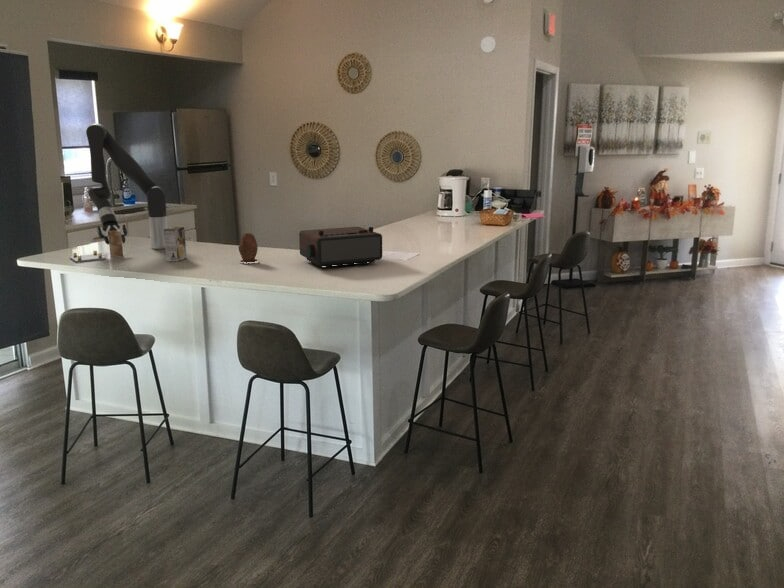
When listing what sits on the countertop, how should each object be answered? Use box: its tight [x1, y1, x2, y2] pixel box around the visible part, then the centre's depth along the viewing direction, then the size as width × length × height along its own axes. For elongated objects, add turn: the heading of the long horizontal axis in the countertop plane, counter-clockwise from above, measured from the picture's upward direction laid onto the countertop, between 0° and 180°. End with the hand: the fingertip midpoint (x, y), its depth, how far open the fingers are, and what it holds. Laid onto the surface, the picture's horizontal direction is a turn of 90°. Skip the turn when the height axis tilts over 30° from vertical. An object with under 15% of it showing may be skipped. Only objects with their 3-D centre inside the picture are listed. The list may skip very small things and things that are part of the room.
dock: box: [69, 250, 107, 264], centre depth 341 cm, size 14×14×3 cm
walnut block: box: [107, 230, 124, 258], centre depth 348 cm, size 5×5×13 cm
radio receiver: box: [298, 226, 383, 268], centre depth 328 cm, size 35×27×18 cm
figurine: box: [238, 232, 259, 263], centre depth 331 cm, size 9×10×15 cm
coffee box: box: [164, 226, 187, 262], centre depth 337 cm, size 9×6×16 cm
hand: (116, 242), depth 347 cm, fingers open, 7 cm apart
